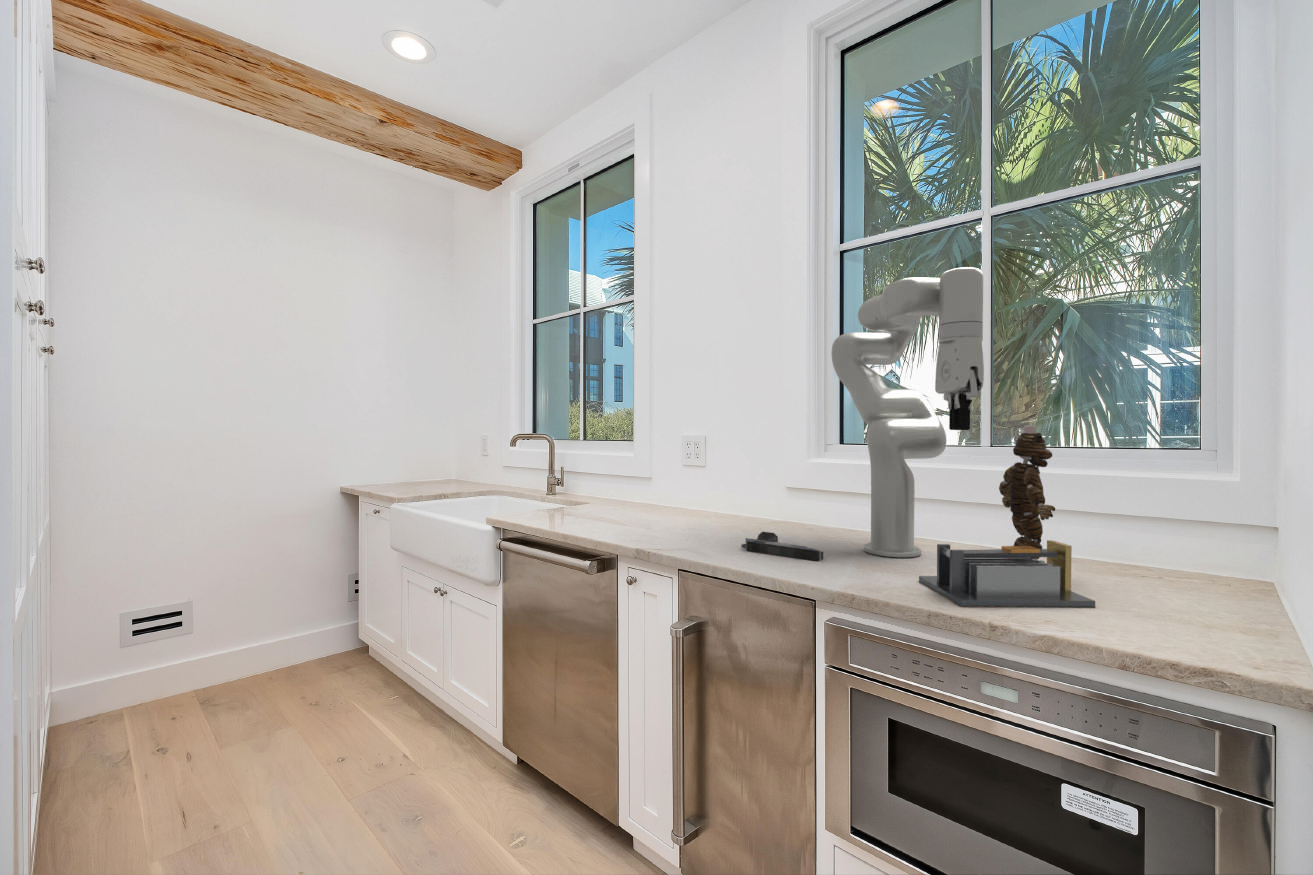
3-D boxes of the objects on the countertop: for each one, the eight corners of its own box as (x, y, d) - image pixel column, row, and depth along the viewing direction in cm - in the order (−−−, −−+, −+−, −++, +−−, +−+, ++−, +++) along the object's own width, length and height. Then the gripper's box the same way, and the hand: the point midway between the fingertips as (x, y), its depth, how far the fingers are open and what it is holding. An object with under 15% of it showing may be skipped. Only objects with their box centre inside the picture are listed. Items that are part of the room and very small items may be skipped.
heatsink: (961, 606, 97) (961, 552, 97) (918, 581, 113) (919, 534, 113) (1095, 606, 97) (1096, 552, 97) (1033, 581, 113) (1034, 534, 113)
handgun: (760, 531, 152) (736, 539, 143) (838, 540, 139) (818, 550, 130) (760, 543, 152) (736, 552, 143) (838, 554, 139) (818, 564, 130)
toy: (1071, 585, 111) (1073, 425, 110) (1030, 583, 112) (1032, 425, 112) (1027, 561, 130) (1029, 425, 130) (993, 559, 132) (994, 425, 131)
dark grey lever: (951, 560, 103) (951, 550, 103) (941, 555, 107) (941, 546, 107) (1058, 559, 103) (1058, 549, 103) (1044, 554, 107) (1044, 545, 107)
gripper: (923, 340, 121) (922, 429, 121) (960, 328, 106) (959, 430, 106) (960, 340, 121) (959, 429, 121) (1002, 328, 106) (1001, 430, 106)
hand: (959, 429), depth 114 cm, fingers closed
